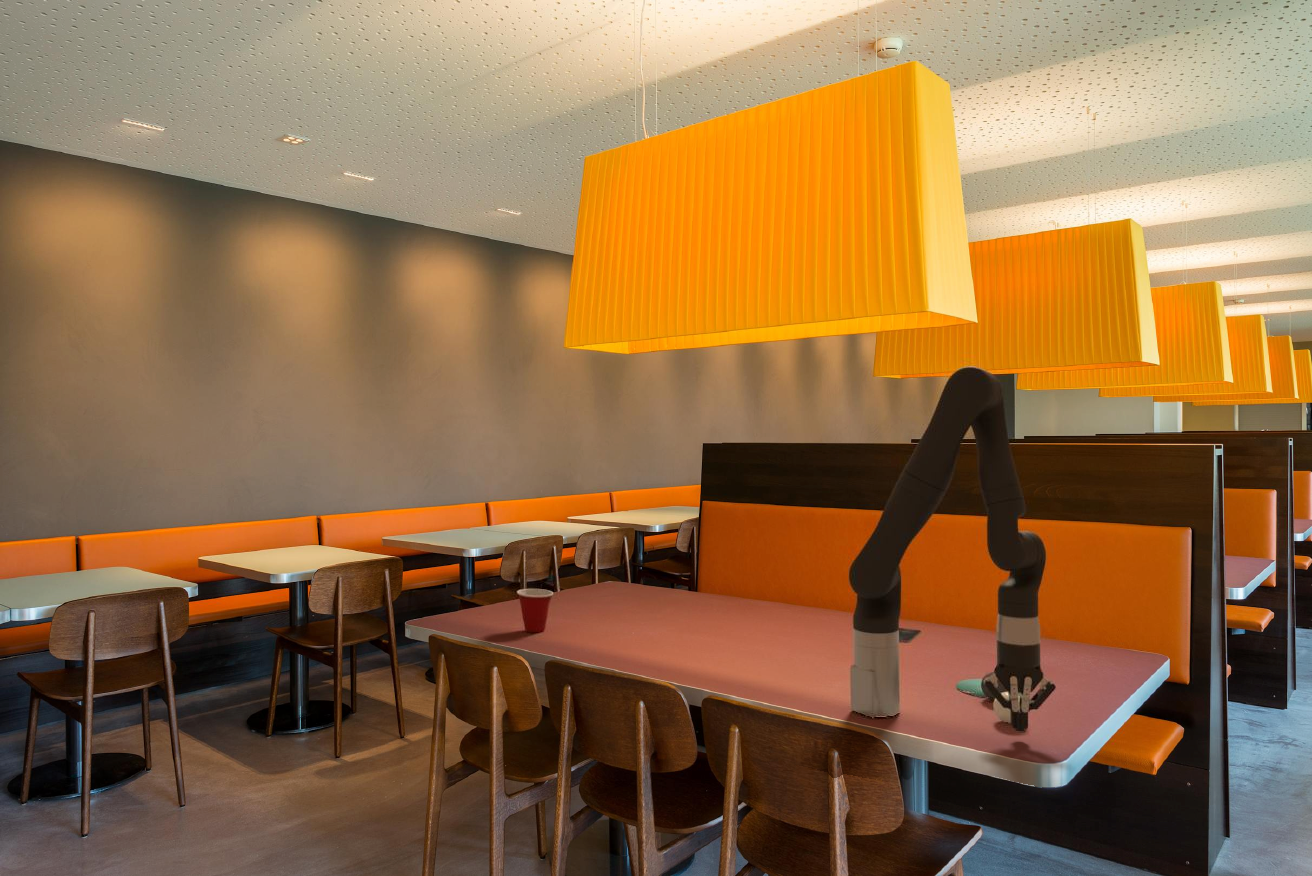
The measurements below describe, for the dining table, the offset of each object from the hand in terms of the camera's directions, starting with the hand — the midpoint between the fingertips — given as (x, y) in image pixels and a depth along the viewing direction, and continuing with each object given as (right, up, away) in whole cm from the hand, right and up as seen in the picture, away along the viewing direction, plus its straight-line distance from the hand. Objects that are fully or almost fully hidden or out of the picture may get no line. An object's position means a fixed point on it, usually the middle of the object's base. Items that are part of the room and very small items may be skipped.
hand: (1019, 730), depth 158 cm
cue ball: (+2, +1, +9) cm, 9 cm away
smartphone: (+2, -2, +81) cm, 81 cm away
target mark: (+7, -1, +31) cm, 31 cm away
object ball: (+5, +1, +23) cm, 23 cm away
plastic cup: (-104, -3, +93) cm, 139 cm away
